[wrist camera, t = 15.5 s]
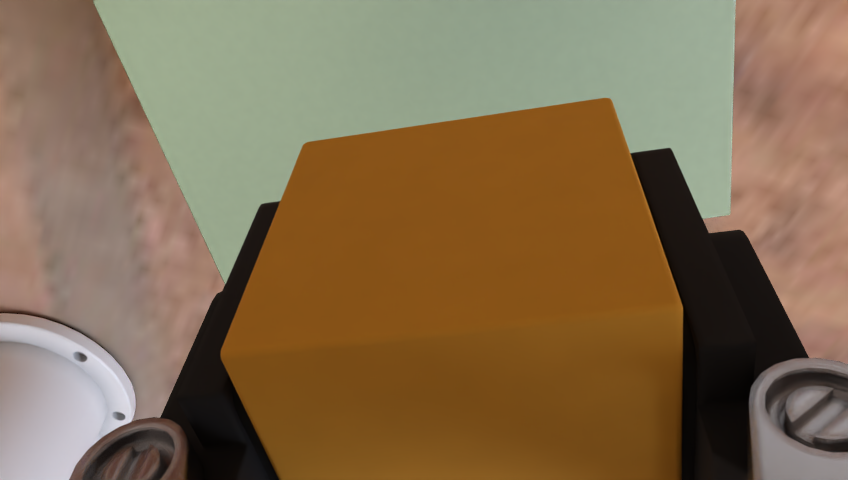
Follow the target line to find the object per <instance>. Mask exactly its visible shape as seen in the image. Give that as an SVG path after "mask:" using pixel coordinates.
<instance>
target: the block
mask: <svg viewBox="0 0 848 480" xmlns="http://www.w3.org/2000/svg"><path fill="white" fill-rule="evenodd" d="M221 360H222V362H223V364H224V366H225V368H226V370H227V372H228V374H229V376H230V379H231V381H232V383H233V385H234V387H235V389H236V391H237V393H238V395H239V397H240V399H241V401H242V403H243V406H244V408H245V410H246V412H247V414H248V416H249V418H250V420H251V422H252V424H253V426H254V428H255V430H256V433H257V435H258V437H259V439H260V441H261V443H262V445H263V447H264V449H265V451H266V453H267V455H268V457H269V460H270V462H271V464H272V466H273V468H274V470H275V472H276V474H277V476H278V478H279V480H682V379H683V305H682V303H681V300H680V297H679V294H678V291H677V288H676V285H675V282H674V279H673V276H672V273H671V270H670V268H669V265H668V262H667V259H666V256H665V253H664V250H663V247H662V244H661V241H660V238H659V236H658V233H657V230H656V227H655V224H654V221H653V218H652V215H651V212H650V209H649V206H648V204H647V201H646V198H645V195H644V192H643V189H642V186H641V183H640V180H639V177H638V174H637V171H636V169H635V166H634V163H633V160H632V157H631V154H630V151H629V148H628V145H627V142H626V139H625V137H624V134H623V131H622V128H621V125H620V122H619V119H618V116H617V113H616V110H615V107H614V105H613V102H612V100H611V99H610V98H599V99H592V100H586V101H579V102H572V103H565V104H559V105H552V106H545V107H539V108H532V109H525V110H519V111H512V112H505V113H498V114H492V115H485V116H478V117H472V118H465V119H458V120H451V121H445V122H438V123H431V124H425V125H418V126H411V127H404V128H398V129H391V130H384V131H378V132H371V133H364V134H357V135H351V136H344V137H337V138H331V139H324V140H317V141H311V142H306V143H305V144H303V146H302V148H301V151H300V153H299V156H298V158H297V161H296V163H295V166H294V168H293V171H292V173H291V176H290V178H289V181H288V183H287V186H286V188H285V191H284V193H283V196H282V198H281V201H280V203H279V206H278V208H277V211H276V213H275V216H274V218H273V221H272V223H271V226H270V228H269V231H268V233H267V236H266V239H265V241H264V244H263V246H262V249H261V251H260V254H259V256H258V259H257V261H256V264H255V266H254V269H253V271H252V274H251V276H250V279H249V281H248V284H247V286H246V289H245V291H244V294H243V296H242V299H241V301H240V304H239V306H238V309H237V311H236V314H235V316H234V319H233V321H232V324H231V326H230V329H229V331H228V334H227V336H226V339H225V341H224V344H223V346H222V349H221Z"/></svg>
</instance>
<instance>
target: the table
mask: <svg viewBox="0 0 848 480" xmlns="http://www.w3.org/2000/svg"><path fill="white" fill-rule="evenodd" d="M93 3H94V5H95V7H96V9H97V11H98V13H99V16H100V18H101V20H102V22H103V24H104V26H105V28H106V31H107V33H108V35H109V37H110V39H111V41H112V43H113V46H114V48H115V50H116V52H117V54H118V56H119V58H120V61H121V63H122V65H123V67H124V69H125V71H126V73H127V76H128V78H129V80H130V82H131V84H132V86H133V88H134V91H135V93H136V95H137V97H138V99H139V101H140V103H141V106H142V108H143V110H144V112H145V114H146V116H147V118H148V121H149V123H150V125H151V127H152V129H153V131H154V133H155V136H156V138H157V140H158V142H159V144H160V146H161V148H162V150H163V153H164V155H165V157H166V159H167V161H168V163H169V165H170V168H171V170H172V172H173V174H174V176H175V178H176V180H177V183H178V185H179V187H180V189H181V191H182V193H183V195H184V198H185V200H186V202H187V204H188V206H189V208H190V210H191V213H192V215H193V217H194V219H195V221H196V223H197V225H198V228H199V230H200V232H201V234H202V236H203V238H204V240H205V243H206V245H207V247H208V249H209V251H210V253H211V255H212V258H213V260H214V262H215V264H216V266H217V268H218V270H219V273H220V275H221V277H222V279H223V281H224V283H225V284H226V282H227V280H228V277H229V275H230V273H231V270H232V268H233V266H234V263H235V261H236V259H237V257H238V254H239V252H240V250H241V247H242V245H243V243H244V241H245V238H246V236H247V234H248V231H249V229H250V227H251V224H252V222H253V220H254V218H255V215H256V213H257V211H258V208H259V207H260V205H261V204H263V203H269V202H277V201H281V198H282V196H283V193H284V191H285V188H286V186H287V183H288V181H289V178H290V176H291V173H292V171H293V168H294V166H295V163H296V161H297V158H298V156H299V153H300V151H301V148H302V146H303V144H305V143H306V142H311V141H317V140H324V139H331V138H337V137H344V136H351V135H357V134H364V133H371V132H378V131H384V130H391V129H398V128H404V127H411V126H418V125H425V124H431V123H438V122H445V121H451V120H458V119H465V118H472V117H478V116H485V115H492V114H498V113H505V112H512V111H519V110H525V109H532V108H539V107H545V106H552V105H559V104H565V103H572V102H579V101H586V100H592V99H599V98H610V99H611V100H612V102H613V105H614V107H615V110H616V113H617V116H618V119H619V122H620V125H621V128H622V131H623V134H624V137H625V139H626V142H627V145H628V148H629V151H630V153H634V152H641V151H648V150H656V149H663V148H671V149H672V151H673V153H674V155H675V158H676V160H677V162H678V165H679V167H680V169H681V171H682V174H683V176H684V178H685V180H686V183H687V185H688V187H689V190H690V192H691V194H692V196H693V199H694V201H695V203H696V205H697V208H698V210H699V212H700V215H701V217H702V219H705V218H712V217H719V216H726V215H730V206H731V166H732V126H733V86H734V46H735V6H736V0H93Z"/></svg>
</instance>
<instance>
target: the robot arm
mask: <svg viewBox="0 0 848 480" xmlns="http://www.w3.org/2000/svg"><path fill="white" fill-rule="evenodd" d="M630 154H631V157H632V160H633V163H634V166H635V169H636V171H637V174H638V177H639V180H640V183H641V186H642V189H643V192H644V195H645V198H646V201H647V204H648V206H649V209H650V212H651V215H652V218H653V221H654V224H655V227H656V230H657V233H658V236H659V238H660V241H661V244H662V247H663V250H664V253H665V256H666V259H667V262H668V265H669V268H670V270H671V273H672V276H673V279H674V282H675V285H676V288H677V291H678V294H679V297H680V300H681V303H682V305H683V379H682V480H848V364H845V363H843V362H840V361H834V360H827V359H821V358H809V357H808V355H807V353H806V351H805V349H804V347H803V345H802V343H801V341H800V339H799V337H798V335H797V333H796V331H795V329H794V327H793V325H792V323H791V322H790V320H789V318H788V316H787V314H786V312H785V310H784V308H783V306H782V304H781V302H780V300H779V298H778V296H777V294H776V292H775V290H774V288H773V286H772V284H771V282H770V280H769V278H768V276H767V274H766V273H765V271H764V269H763V267H762V265H761V263H760V261H759V259H758V257H757V255H756V253H755V251H754V249H753V247H752V245H751V243H750V241H749V239H748V238H747V236H746V235H745V233H744V232H743V231H741V230H734V231H725V232H717V233H708V230H707V228H706V226H705V224H704V221H703V219H702V217H701V215H700V212H699V210H698V208H697V205H696V203H695V201H694V199H693V196H692V194H691V192H690V190H689V187H688V185H687V183H686V180H685V178H684V176H683V174H682V171H681V169H680V167H679V165H678V162H677V160H676V158H675V155H674V153H673V151H672V149H671V148H663V149H656V150H648V151H641V152H634V153H630ZM279 203H280V201H277V202H269V203H263V204H261V205H260V207H259V208H258V211H257V213H256V215H255V218H254V220H253V222H252V224H251V227H250V229H249V231H248V234H247V236H246V238H245V241H244V243H243V245H242V247H241V250H240V252H239V254H238V257H237V259H236V261H235V263H234V266H233V268H232V270H231V273H230V275H229V277H228V280H227V282H226V284H225V286H224V289H223V291H222V292H220V293H218V294H217V295H216V296H215V298H214V299H213V301H212V303H211V305H210V307H209V310H208V312H207V314H206V316H205V319H204V321H203V323H202V325H201V328H200V330H199V332H198V334H197V337H196V339H195V341H194V343H193V346H192V348H191V350H190V352H189V355H188V357H187V359H186V361H185V364H184V366H183V368H182V370H181V373H180V375H179V377H178V379H177V381H176V384H175V386H174V388H173V390H172V393H171V395H170V397H169V399H168V402H167V404H166V406H165V408H164V411H163V413H162V415H161V417H160V418H155V417H153V418H147V419H140V420H136V421H133V422H131V421H132V419H133V417H134V413H135V408H136V400H135V392H134V390H133V387H132V384H131V381H130V380H129V378H128V376H127V375H126V373H125V371H124V370H123V368H122V367H121V366H120V365H119V364H118V363H117V361H116V360H115V359H114V358H113V357H112V356H111V355H110V354H109V353H108V352H107V351H105V350H104V349H103V348H102V347H101V346H99V345H98V344H97V343H95V342H94V341H92V340H91V339H89V338H87V337H86V336H84V335H83V334H81V333H79V332H77V331H75V330H73V329H71V328H69V327H66V326H64V325H62V324H59V323H56V322H53V321H50V320H47V319H44V318H40V317H34V316H29V315H24V314H10V313H0V480H279V478H278V476H277V474H276V472H275V470H274V468H273V466H272V464H271V462H270V460H269V457H268V455H267V453H266V451H265V449H264V447H263V445H262V443H261V441H260V439H259V437H258V435H257V433H256V430H255V428H254V426H253V424H252V422H251V420H250V418H249V416H248V414H247V412H246V410H245V408H244V406H243V403H242V401H241V399H240V397H239V395H238V393H237V391H236V389H235V387H234V385H233V383H232V381H231V379H230V376H229V374H228V372H227V370H226V368H225V366H224V364H223V362H222V360H221V349H222V346H223V344H224V341H225V339H226V336H227V334H228V331H229V329H230V326H231V324H232V321H233V319H234V316H235V314H236V311H237V309H238V306H239V304H240V301H241V299H242V296H243V294H244V291H245V289H246V286H247V284H248V281H249V279H250V276H251V274H252V271H253V269H254V266H255V264H256V261H257V259H258V256H259V254H260V251H261V249H262V246H263V244H264V241H265V239H266V236H267V233H268V231H269V228H270V226H271V223H272V221H273V218H274V216H275V213H276V211H277V208H278V206H279Z"/></svg>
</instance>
